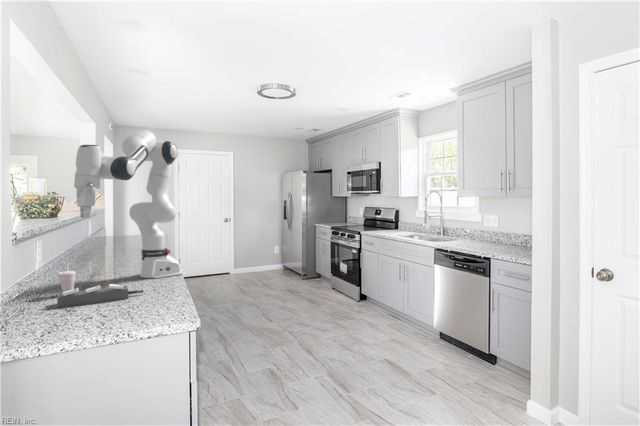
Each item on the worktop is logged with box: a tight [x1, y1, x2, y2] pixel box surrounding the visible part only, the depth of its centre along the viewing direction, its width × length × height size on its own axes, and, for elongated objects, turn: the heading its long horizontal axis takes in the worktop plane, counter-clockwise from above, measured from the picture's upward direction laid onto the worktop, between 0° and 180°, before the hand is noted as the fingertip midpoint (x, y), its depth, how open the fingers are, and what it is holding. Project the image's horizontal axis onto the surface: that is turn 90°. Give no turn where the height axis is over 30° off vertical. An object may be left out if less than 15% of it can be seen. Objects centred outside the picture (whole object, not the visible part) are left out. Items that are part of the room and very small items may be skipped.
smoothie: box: [57, 262, 77, 293], centre depth 159 cm, size 6×6×14 cm
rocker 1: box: [63, 287, 80, 296], centre depth 144 cm, size 5×3×1 cm, turn 121°
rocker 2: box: [85, 285, 102, 293], centre depth 148 cm, size 5×3×1 cm, turn 120°
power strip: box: [56, 285, 144, 309], centre depth 151 cm, size 30×7×4 cm, turn 121°
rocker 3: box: [108, 283, 124, 289], centre depth 152 cm, size 5×3×1 cm, turn 122°
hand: (84, 217), depth 148 cm, fingers open, 8 cm apart
